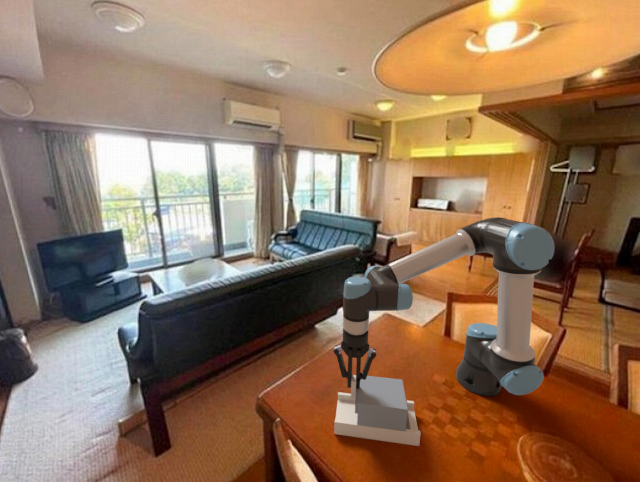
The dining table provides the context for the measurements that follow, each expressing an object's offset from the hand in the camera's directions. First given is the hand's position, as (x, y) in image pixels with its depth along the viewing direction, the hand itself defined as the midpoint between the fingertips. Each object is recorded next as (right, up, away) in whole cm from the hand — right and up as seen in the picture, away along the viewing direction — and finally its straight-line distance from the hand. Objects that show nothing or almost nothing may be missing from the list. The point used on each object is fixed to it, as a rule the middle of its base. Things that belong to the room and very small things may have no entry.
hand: (353, 395), depth 89 cm
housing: (+7, -9, +1) cm, 12 cm away
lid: (+8, -5, 0) cm, 9 cm away
